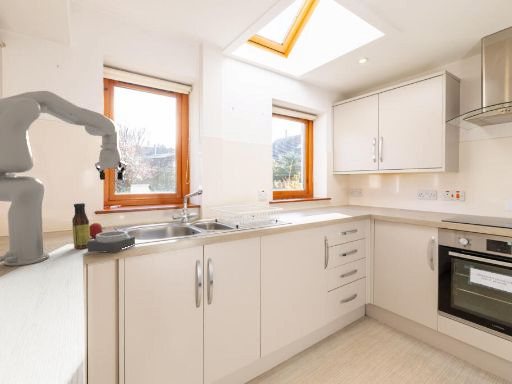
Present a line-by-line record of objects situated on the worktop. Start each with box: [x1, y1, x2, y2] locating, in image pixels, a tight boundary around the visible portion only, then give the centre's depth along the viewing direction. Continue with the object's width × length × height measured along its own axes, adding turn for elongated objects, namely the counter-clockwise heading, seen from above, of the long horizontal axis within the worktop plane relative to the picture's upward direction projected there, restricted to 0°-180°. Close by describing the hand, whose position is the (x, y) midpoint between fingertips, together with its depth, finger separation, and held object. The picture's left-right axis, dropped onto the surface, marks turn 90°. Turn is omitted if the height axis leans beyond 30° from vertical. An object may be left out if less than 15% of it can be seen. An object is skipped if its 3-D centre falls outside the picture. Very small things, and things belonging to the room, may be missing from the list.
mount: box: [87, 230, 136, 254], centre depth 115 cm, size 13×13×6 cm
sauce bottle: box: [71, 202, 91, 250], centre depth 116 cm, size 7×6×20 cm
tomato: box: [89, 222, 106, 239], centre depth 136 cm, size 8×8×8 cm
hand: (111, 179), depth 138 cm, fingers open, 9 cm apart
